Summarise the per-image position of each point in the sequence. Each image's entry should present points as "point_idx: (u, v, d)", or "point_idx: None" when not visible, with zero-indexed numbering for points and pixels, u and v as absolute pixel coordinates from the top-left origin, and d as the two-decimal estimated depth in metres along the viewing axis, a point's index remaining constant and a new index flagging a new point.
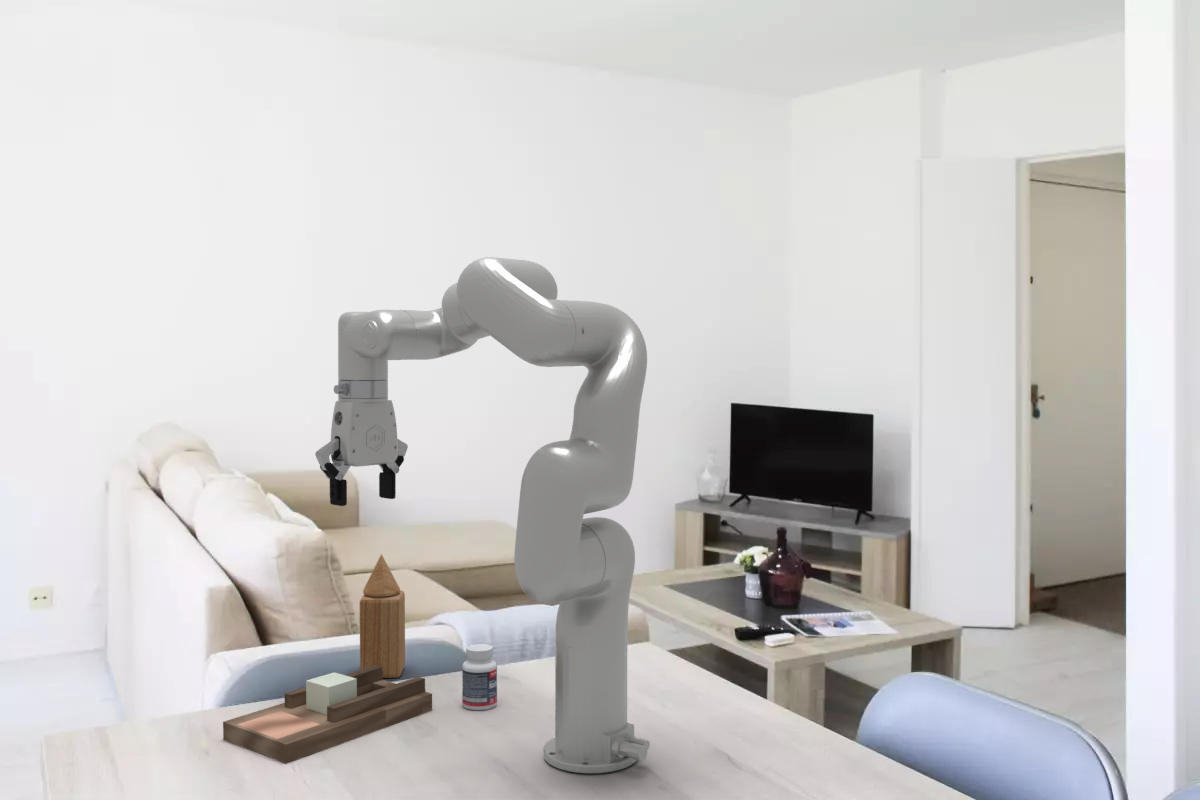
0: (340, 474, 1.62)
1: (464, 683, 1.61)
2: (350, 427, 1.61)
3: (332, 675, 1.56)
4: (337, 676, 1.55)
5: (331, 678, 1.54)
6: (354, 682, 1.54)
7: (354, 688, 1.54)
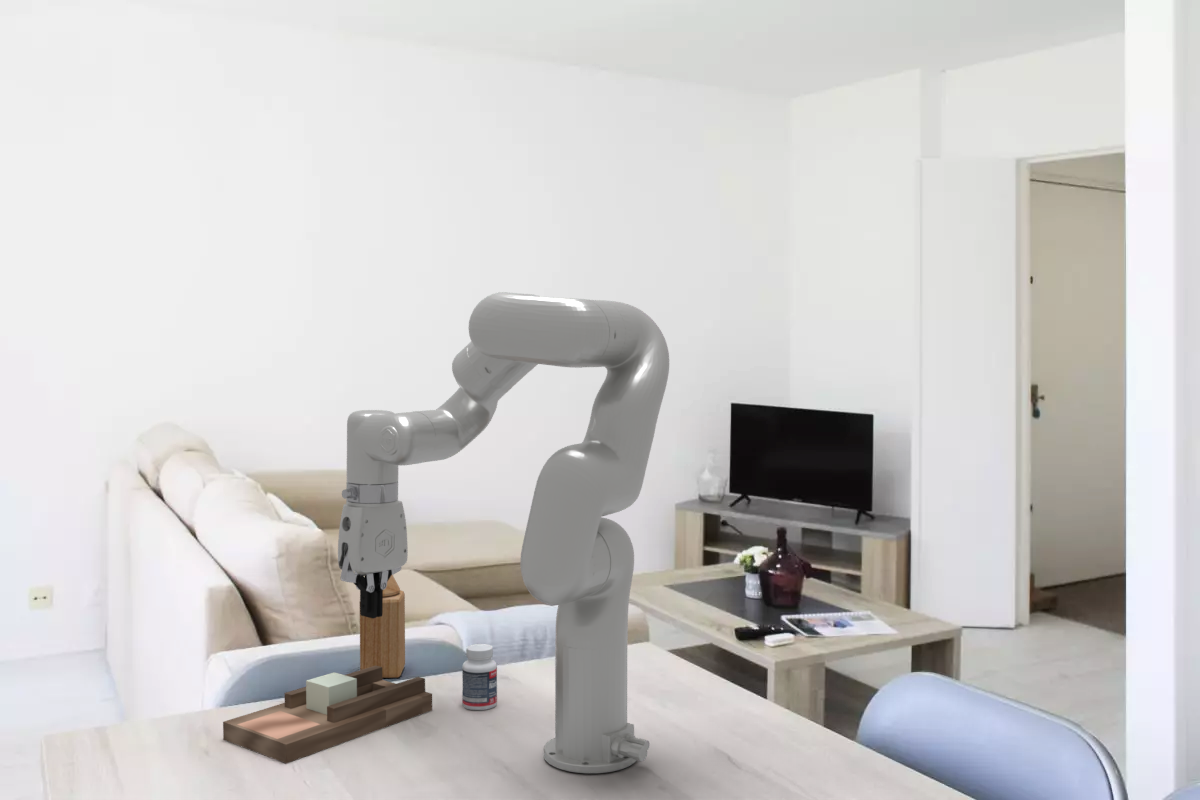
0: (370, 586, 1.58)
1: (464, 683, 1.61)
2: (359, 534, 1.54)
3: (332, 675, 1.56)
4: (337, 676, 1.55)
5: (331, 678, 1.54)
6: (354, 682, 1.54)
7: (354, 688, 1.54)
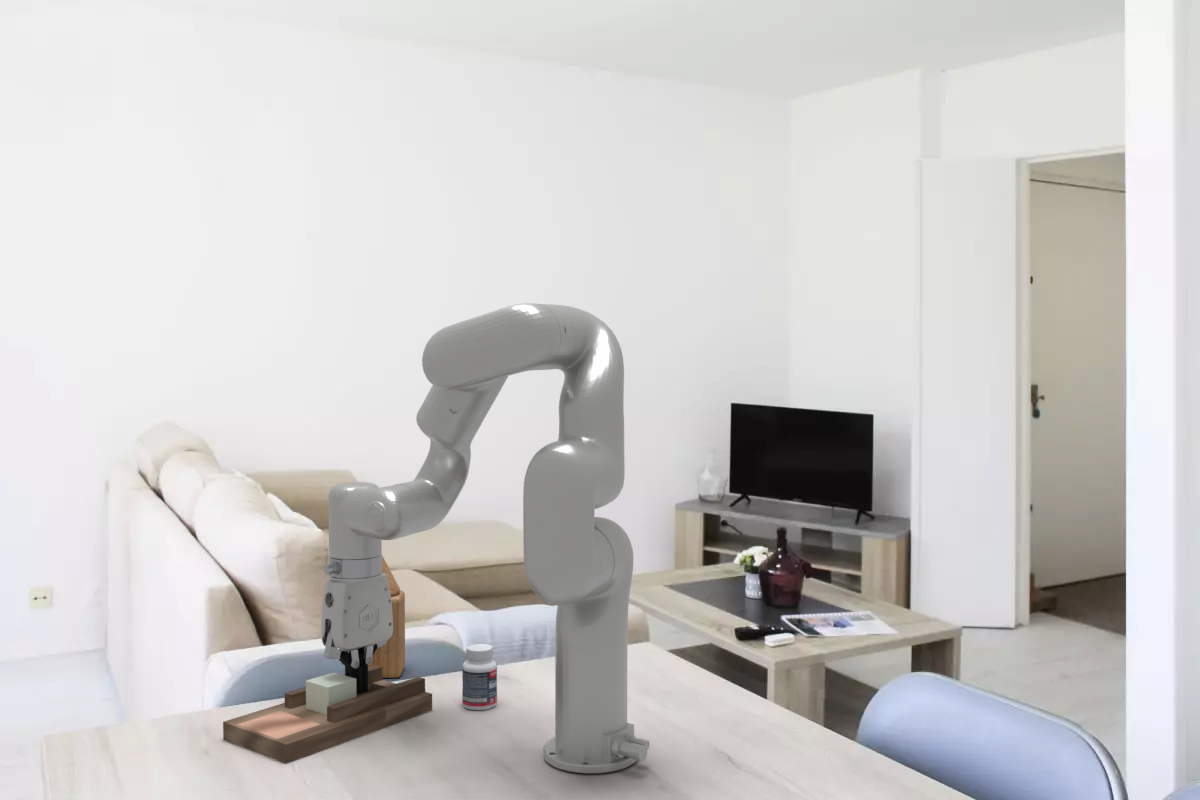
0: (354, 662, 1.56)
1: (464, 683, 1.61)
2: (342, 610, 1.52)
3: (332, 675, 1.56)
4: (337, 676, 1.55)
5: (331, 678, 1.54)
6: (354, 682, 1.54)
7: (354, 688, 1.54)
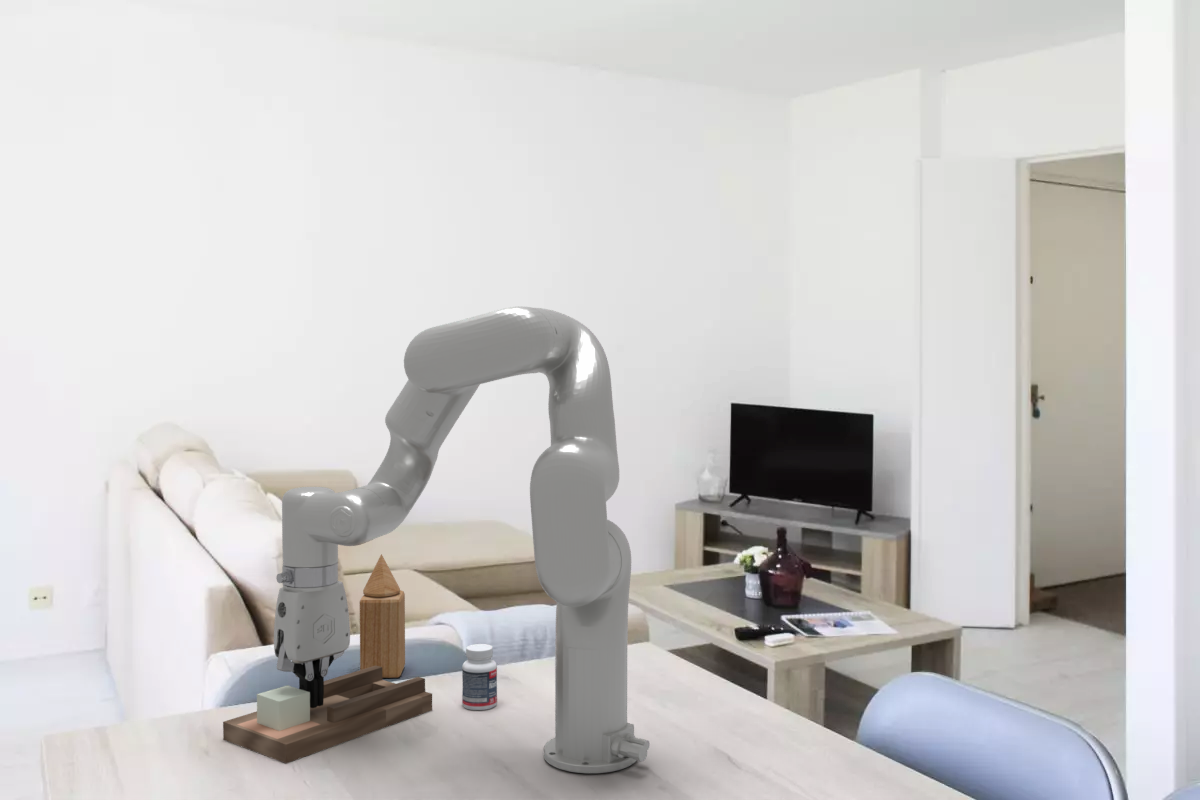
0: (309, 674, 1.49)
1: (464, 683, 1.61)
2: (294, 621, 1.46)
3: (285, 688, 1.50)
4: (290, 689, 1.49)
5: (283, 692, 1.48)
6: (307, 696, 1.48)
7: (307, 702, 1.48)
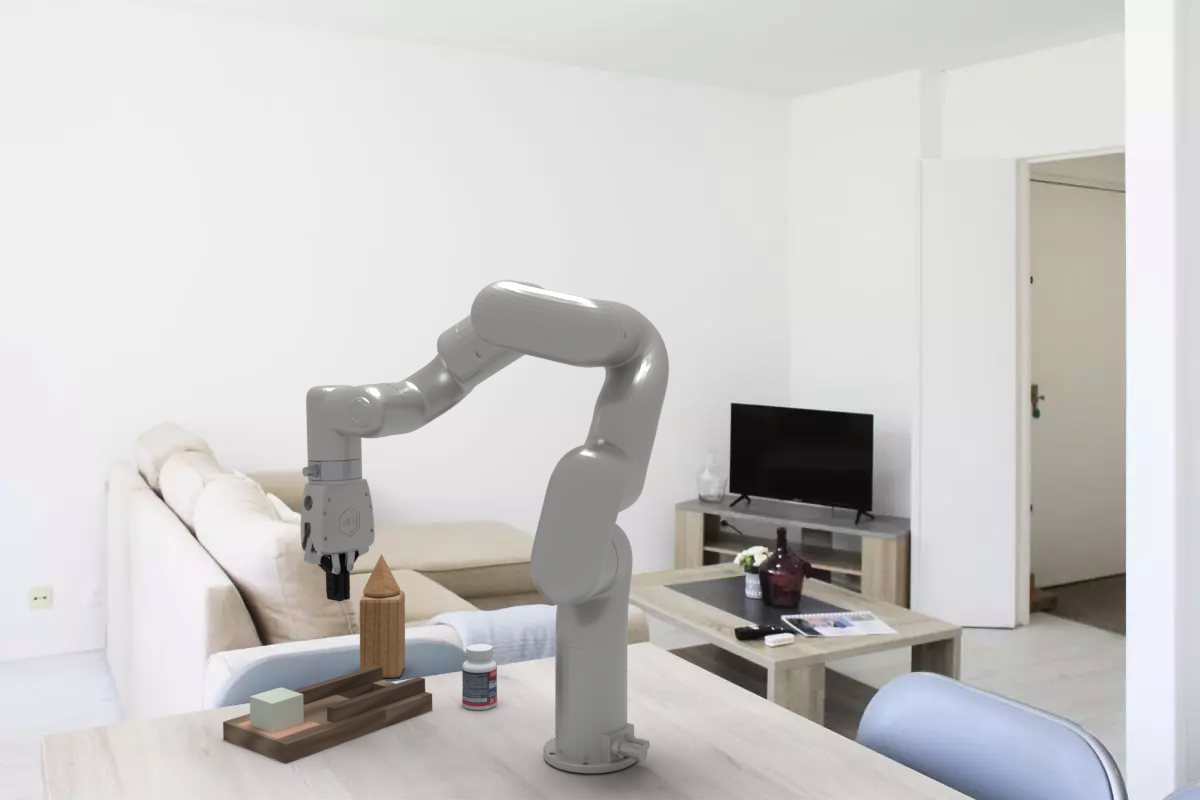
0: (335, 568, 1.52)
1: (464, 683, 1.61)
2: (321, 513, 1.48)
3: (278, 690, 1.49)
4: (283, 691, 1.48)
5: (276, 693, 1.47)
6: (301, 698, 1.47)
7: (300, 704, 1.47)
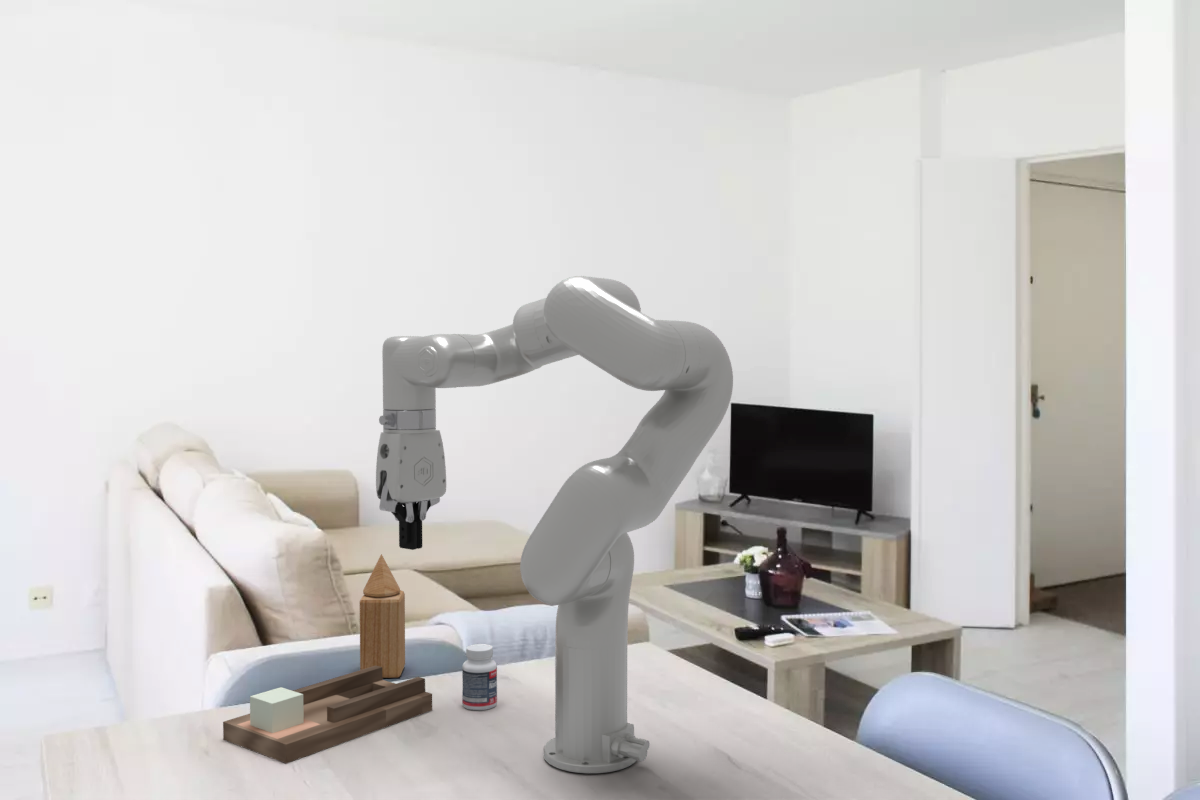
0: (409, 516, 1.54)
1: (464, 683, 1.61)
2: (398, 461, 1.50)
3: (278, 690, 1.49)
4: (283, 691, 1.48)
5: (276, 693, 1.47)
6: (301, 698, 1.47)
7: (300, 704, 1.47)
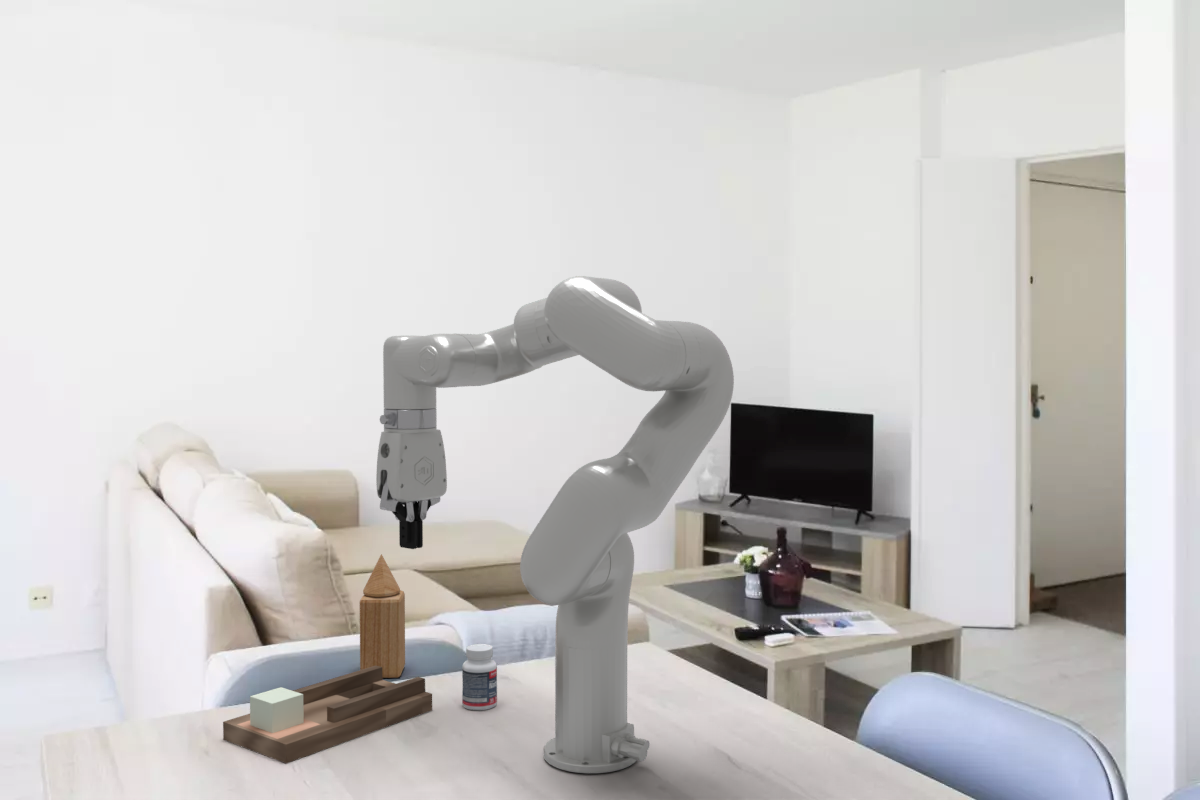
0: (410, 516, 1.54)
1: (464, 683, 1.61)
2: (398, 460, 1.50)
3: (278, 690, 1.49)
4: (283, 691, 1.48)
5: (276, 693, 1.47)
6: (301, 698, 1.47)
7: (300, 704, 1.47)
